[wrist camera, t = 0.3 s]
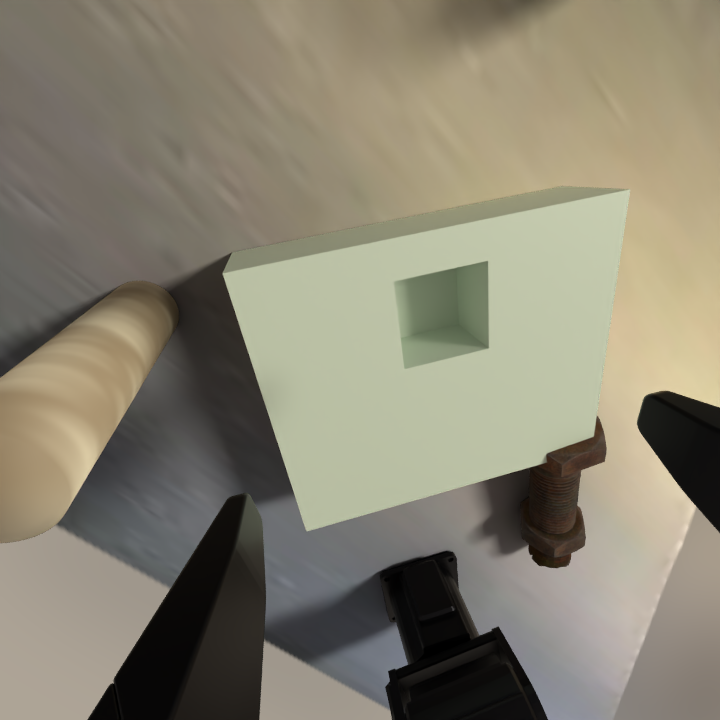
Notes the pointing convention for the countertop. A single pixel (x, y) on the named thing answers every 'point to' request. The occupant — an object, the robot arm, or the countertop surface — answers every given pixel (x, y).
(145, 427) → the countertop surface
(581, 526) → the bolt
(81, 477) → the pin
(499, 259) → the plinth
